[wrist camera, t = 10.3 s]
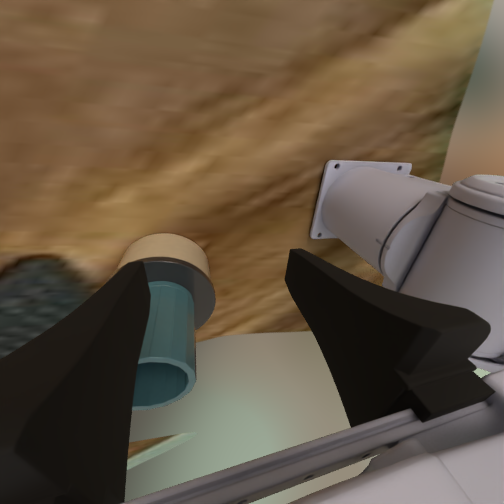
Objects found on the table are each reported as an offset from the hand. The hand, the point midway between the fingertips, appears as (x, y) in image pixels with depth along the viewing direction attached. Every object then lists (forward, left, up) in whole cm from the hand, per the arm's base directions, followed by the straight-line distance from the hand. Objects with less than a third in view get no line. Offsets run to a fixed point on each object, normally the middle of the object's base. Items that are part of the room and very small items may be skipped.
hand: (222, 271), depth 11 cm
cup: (+4, +7, -5) cm, 10 cm away
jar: (+4, +7, -10) cm, 13 cm away
